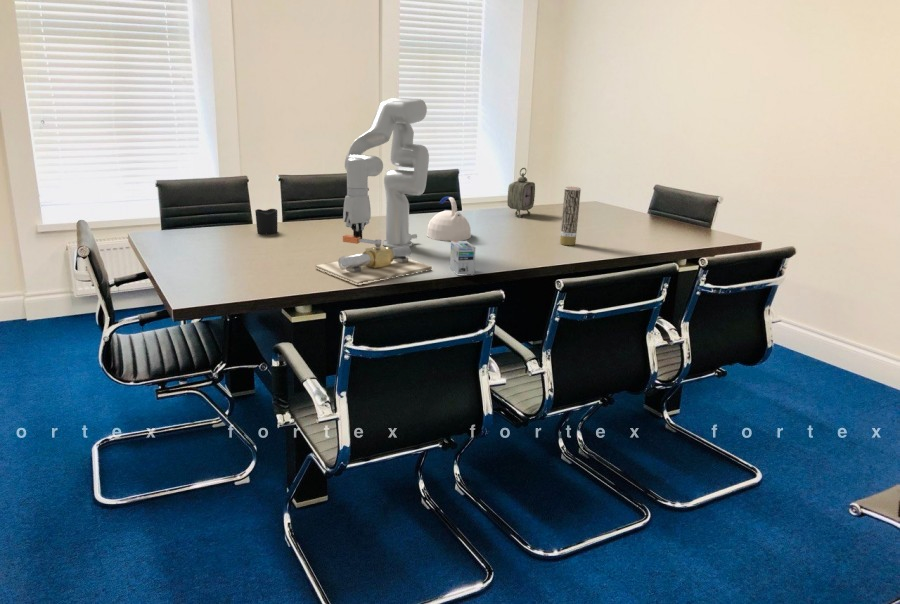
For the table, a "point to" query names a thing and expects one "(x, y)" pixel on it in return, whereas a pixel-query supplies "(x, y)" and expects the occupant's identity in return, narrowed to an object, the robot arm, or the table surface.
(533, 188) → the tabletop clock
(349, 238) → the valve handle
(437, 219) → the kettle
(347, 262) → the pipe and valve
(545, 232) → the table surface
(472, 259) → the light bulb box
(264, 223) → the pen holder
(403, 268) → the valve board
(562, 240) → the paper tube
